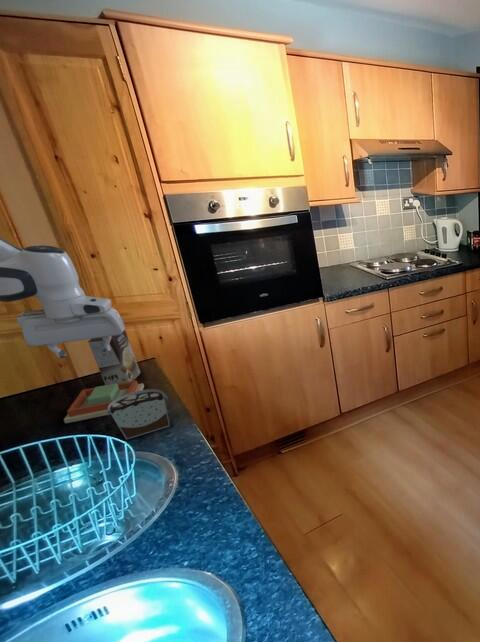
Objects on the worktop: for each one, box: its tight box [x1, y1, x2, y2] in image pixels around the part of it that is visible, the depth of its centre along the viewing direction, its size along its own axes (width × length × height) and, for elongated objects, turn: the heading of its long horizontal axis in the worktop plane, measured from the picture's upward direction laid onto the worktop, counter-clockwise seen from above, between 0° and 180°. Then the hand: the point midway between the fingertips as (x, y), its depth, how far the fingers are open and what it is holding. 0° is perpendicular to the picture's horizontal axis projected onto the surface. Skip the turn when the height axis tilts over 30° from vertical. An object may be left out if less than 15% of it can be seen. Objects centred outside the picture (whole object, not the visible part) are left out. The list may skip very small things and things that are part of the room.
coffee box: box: [87, 329, 141, 385], centre depth 141 cm, size 9×6×16 cm
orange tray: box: [63, 379, 145, 424], centre depth 131 cm, size 15×15×3 cm
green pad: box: [87, 383, 120, 406], centre depth 131 cm, size 5×8×3 cm, turn 27°
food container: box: [107, 388, 171, 440], centre depth 119 cm, size 12×6×10 cm, turn 130°
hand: (85, 354), depth 125 cm, fingers open, 8 cm apart
